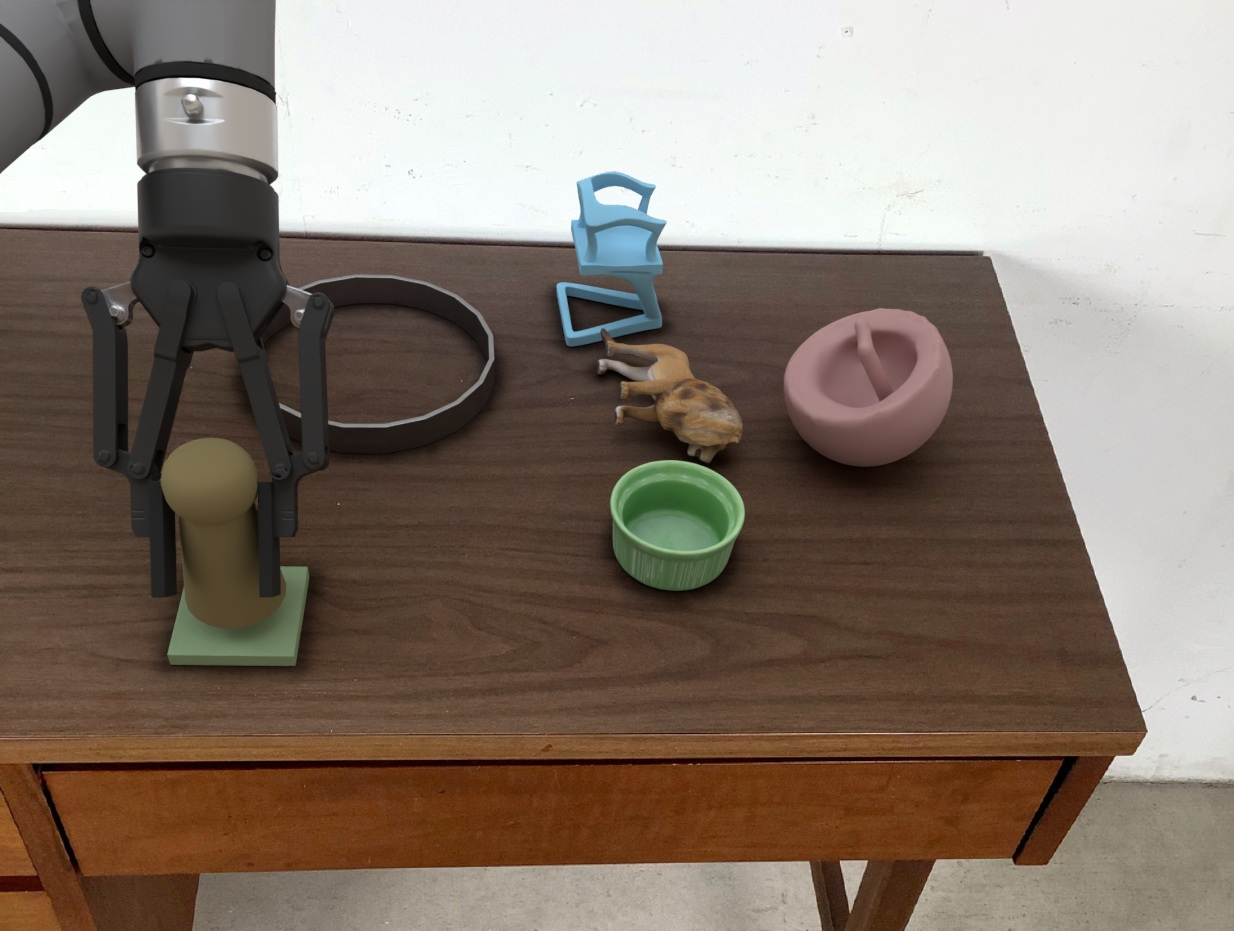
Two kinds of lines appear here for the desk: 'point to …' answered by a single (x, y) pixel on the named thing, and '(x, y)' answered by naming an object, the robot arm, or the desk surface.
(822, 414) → the mortar and pestle
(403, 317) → the desk surface
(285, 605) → the green mat
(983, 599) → the desk surface
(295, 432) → the ring
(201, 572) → the olive pawn
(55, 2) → the robot arm
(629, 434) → the desk surface
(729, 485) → the ramekin
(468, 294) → the desk surface
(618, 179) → the chair
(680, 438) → the lion figurine
